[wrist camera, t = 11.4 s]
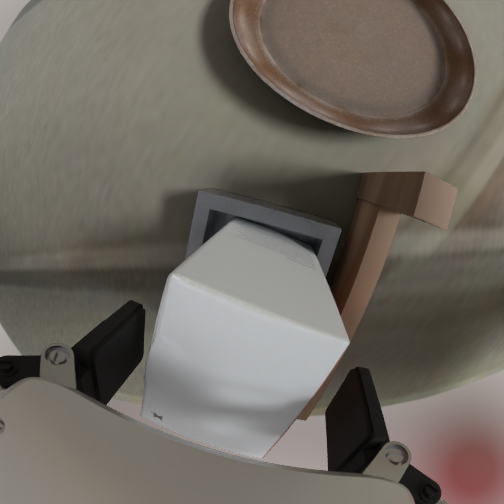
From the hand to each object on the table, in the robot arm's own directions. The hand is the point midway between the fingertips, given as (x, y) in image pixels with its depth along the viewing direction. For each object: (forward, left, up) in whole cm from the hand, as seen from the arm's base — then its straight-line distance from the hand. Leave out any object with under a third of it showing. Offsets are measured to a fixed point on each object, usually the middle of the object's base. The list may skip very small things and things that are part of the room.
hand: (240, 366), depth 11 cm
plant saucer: (-3, -22, -12) cm, 26 cm away
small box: (0, 0, -11) cm, 11 cm away
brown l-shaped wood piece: (-6, 0, -12) cm, 13 cm away
